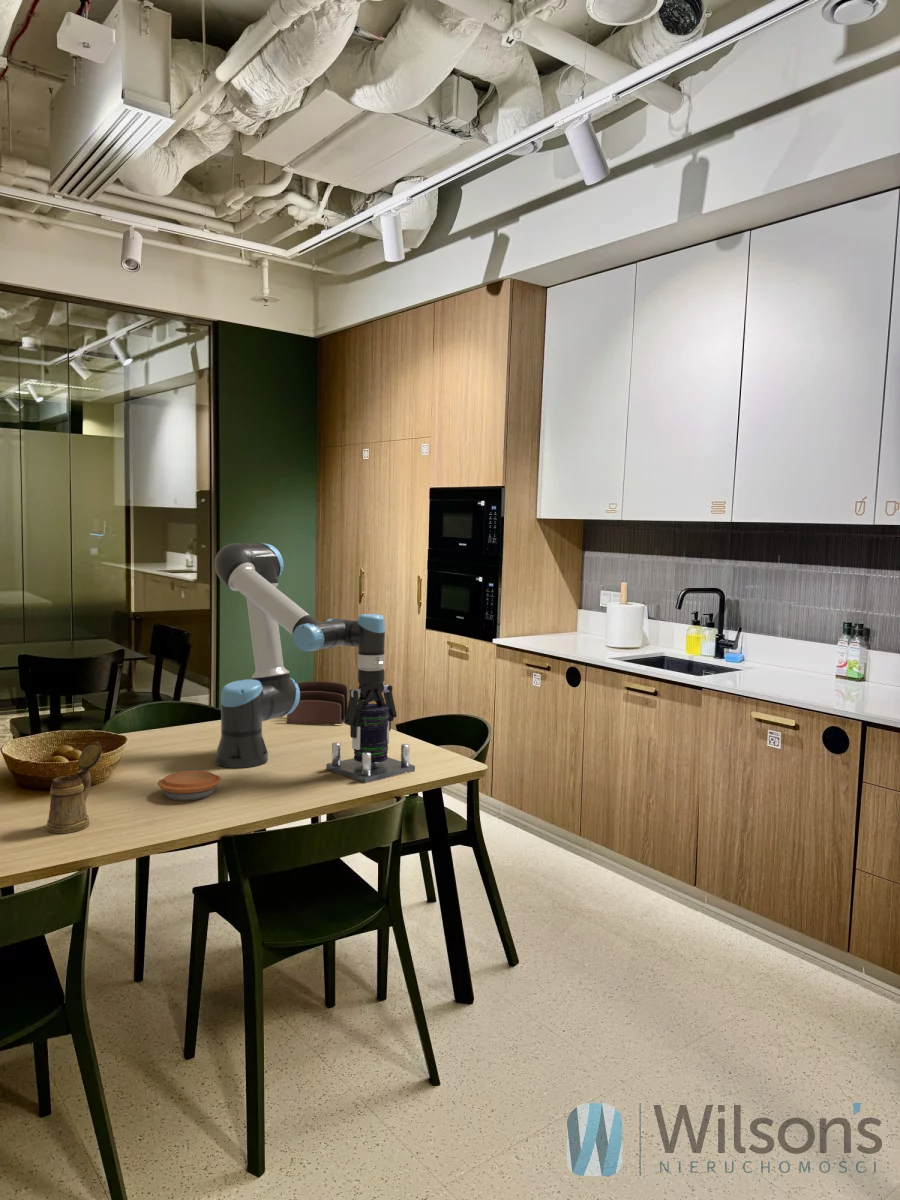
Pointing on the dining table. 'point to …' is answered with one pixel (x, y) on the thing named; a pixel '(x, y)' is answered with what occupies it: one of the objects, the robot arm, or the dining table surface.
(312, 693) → the letter holder
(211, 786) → the pie
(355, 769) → the post base
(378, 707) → the storage jar
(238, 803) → the dining table surface
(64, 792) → the wooden mug
